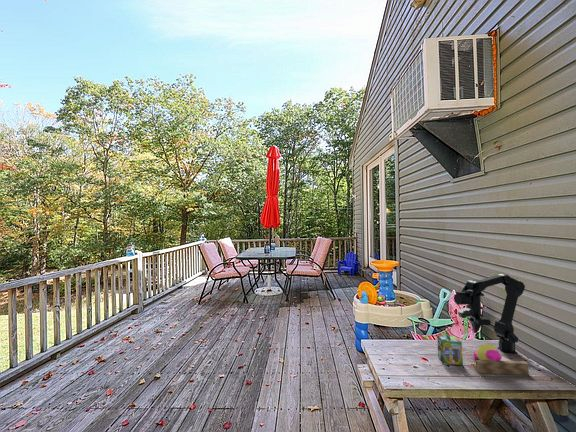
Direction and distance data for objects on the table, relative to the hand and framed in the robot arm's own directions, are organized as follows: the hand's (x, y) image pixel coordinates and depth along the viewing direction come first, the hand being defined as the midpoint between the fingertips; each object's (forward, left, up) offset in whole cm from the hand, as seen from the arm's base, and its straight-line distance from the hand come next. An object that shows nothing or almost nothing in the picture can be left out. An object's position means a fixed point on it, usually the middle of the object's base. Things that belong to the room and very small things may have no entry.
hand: (475, 332), depth 157 cm
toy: (+1, +12, -11) cm, 16 cm away
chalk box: (+18, +10, -11) cm, 24 cm away
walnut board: (0, +21, -11) cm, 24 cm away
